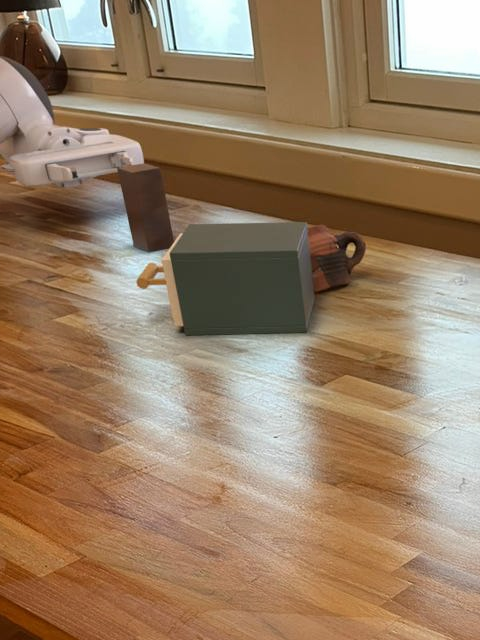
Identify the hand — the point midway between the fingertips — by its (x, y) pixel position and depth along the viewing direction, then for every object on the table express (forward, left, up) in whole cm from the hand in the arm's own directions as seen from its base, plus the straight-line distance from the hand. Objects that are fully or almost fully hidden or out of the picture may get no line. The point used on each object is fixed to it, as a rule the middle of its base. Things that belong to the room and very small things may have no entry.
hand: (102, 169), depth 148 cm
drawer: (-1, -48, -8) cm, 48 cm away
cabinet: (+2, -50, -9) cm, 50 cm away
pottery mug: (+16, -42, -9) cm, 46 cm away
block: (+2, -12, -9) cm, 15 cm away
